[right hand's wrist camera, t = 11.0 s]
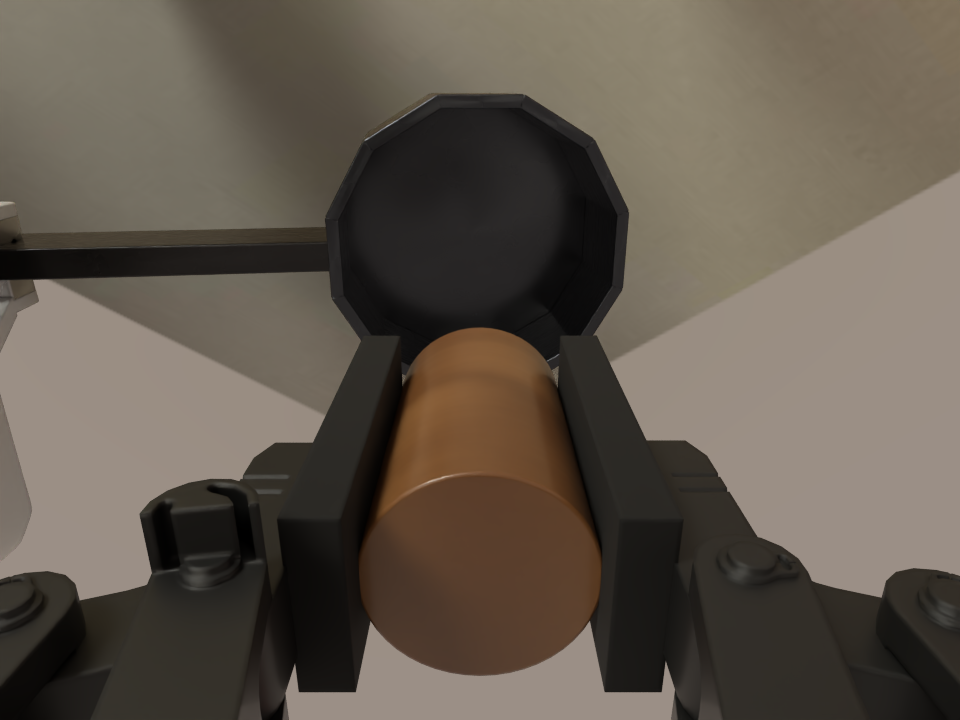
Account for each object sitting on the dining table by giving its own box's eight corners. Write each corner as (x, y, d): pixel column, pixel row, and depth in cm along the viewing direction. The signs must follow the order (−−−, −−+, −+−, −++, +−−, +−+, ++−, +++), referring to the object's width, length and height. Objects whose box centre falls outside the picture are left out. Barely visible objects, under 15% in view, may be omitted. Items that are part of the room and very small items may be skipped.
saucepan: (598, 93, 31) (639, 93, 26) (583, 343, 35) (615, 385, 30) (-64, 93, 28) (-163, 93, 23) (11, 367, 32) (-59, 418, 27)
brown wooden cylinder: (404, 468, 16) (362, 677, 10) (398, 326, 14) (346, 472, 9) (554, 469, 16) (596, 677, 10) (561, 326, 14) (614, 473, 9)
